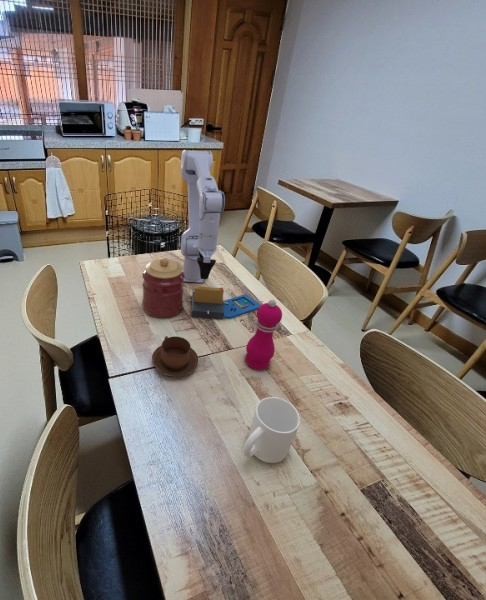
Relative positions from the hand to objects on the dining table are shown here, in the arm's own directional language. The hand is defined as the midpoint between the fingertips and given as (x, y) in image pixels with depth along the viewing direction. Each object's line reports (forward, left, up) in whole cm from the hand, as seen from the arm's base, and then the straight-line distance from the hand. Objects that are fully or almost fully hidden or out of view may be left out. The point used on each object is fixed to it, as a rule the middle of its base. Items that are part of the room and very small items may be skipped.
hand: (203, 272), depth 109 cm
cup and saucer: (+31, -7, -11) cm, 34 cm away
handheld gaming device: (+3, +12, -11) cm, 16 cm away
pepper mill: (+28, +15, -11) cm, 34 cm away
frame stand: (+5, +2, -10) cm, 12 cm away
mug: (+54, +12, -11) cm, 57 cm away
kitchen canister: (+6, -13, -11) cm, 17 cm away
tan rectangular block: (+5, +2, -8) cm, 9 cm away
